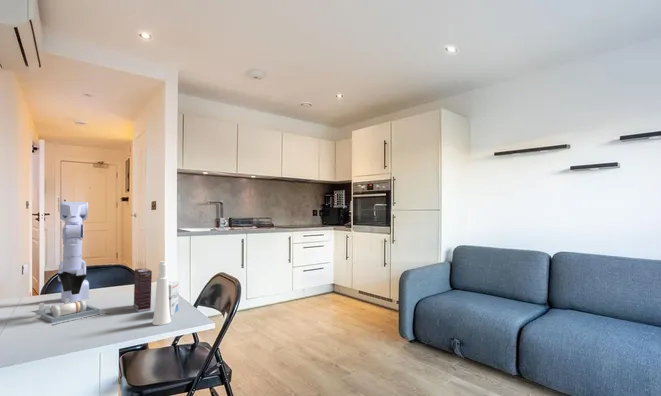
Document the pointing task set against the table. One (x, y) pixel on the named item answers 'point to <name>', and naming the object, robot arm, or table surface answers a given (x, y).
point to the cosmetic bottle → (162, 297)
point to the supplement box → (142, 289)
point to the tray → (51, 319)
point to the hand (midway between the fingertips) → (71, 292)
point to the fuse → (68, 308)
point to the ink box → (173, 296)
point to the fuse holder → (48, 307)
